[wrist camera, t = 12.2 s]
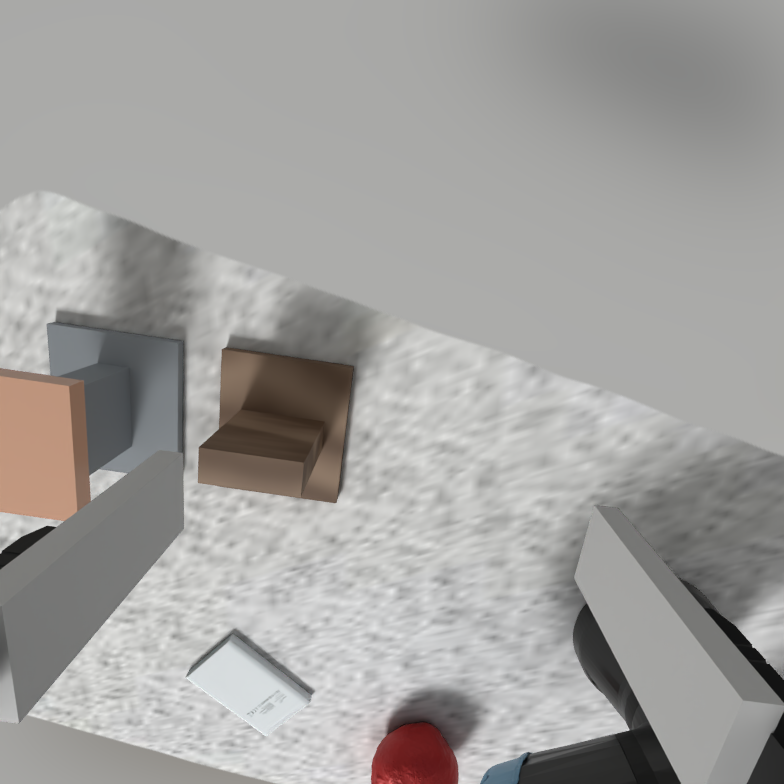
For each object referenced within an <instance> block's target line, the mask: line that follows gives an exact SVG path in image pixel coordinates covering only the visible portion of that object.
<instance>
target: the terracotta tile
mask: <svg viewBox="0 0 784 784" xmlns="http://www.w3.org/2000/svg"><path fill="white" fill-rule="evenodd" d="M89 502H91V499H90V481H89V463H88V445H87V428H86V410H85V392H84V380H77V379H70V378H63V377H57V376H50V375H43V374H36V373H29V372H22V371H15V370H9V369H2V368H0V512H5V513H12V514H19V515H26V516H33V517H40V518H47V519H54V520H61V521H65V520H67V519H68V518H69V517H71V516H72V515H73V514H75V513H76V512H77V511H79V510H80V509H81V508H83V507H84V506H85V505H87V504H88V503H89Z"/></svg>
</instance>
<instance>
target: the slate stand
mask: <svg viewBox="0 0 784 784" xmlns="http://www.w3.org/2000/svg"><path fill="white" fill-rule="evenodd" d="M47 334H48V347H49V359H50V372H51V376H57V377H63V378H70V379H77V380H84V392H85V410H86V428H87V445H88V463H89V475H91V474H92V473H94V472H95V471H97V470H98V469H102V470H109V471H116V472H123V473H129V472H131V471H132V470H133V469H135V468H136V467H137V466H139V465H140V464H141V463H143V462H144V461H145V460H147V459H148V458H149V457H151V456H152V455H153V454H155V453H156V452H157V451H159V450H163V451H171V452H179V453H182V441H183V341H180V340H173V339H166V338H159V337H152V336H146V335H139V334H132V333H125V332H118V331H112V330H105V329H98V328H91V327H84V326H78V325H71V324H64V323H57V322H53V323H48V324H47Z"/></svg>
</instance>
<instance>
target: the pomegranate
mask: <svg viewBox="0 0 784 784" xmlns="http://www.w3.org/2000/svg"><path fill="white" fill-rule="evenodd" d="M371 784H458V764H457V760H456V757H455V755H454V753H453V751H452V750H451V748H450V747H449V745H448V743H447V741H446V740H445V738H443V737H442V736H441V734H440V732H439V730H438V729H437V728H436V727H434V726H433V725H431V724H429V723H425V722H421V723H415V724H407V725H403V726H401V727H399V728H398V729H396V730H395V731H393V732H391V733H389V734H388V735H387V736H386V737H385V738H384V739H383V740H382V741H381V743H380V745H379V746H378V747H377V751H376V753H375V756H374V758H373V762H372V775H371Z"/></svg>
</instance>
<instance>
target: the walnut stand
mask: <svg viewBox="0 0 784 784" xmlns="http://www.w3.org/2000/svg"><path fill="white" fill-rule="evenodd" d="M353 368H354V366H350V365H343V364H336V363H329V362H322V361H316V360H309V359H302V358H295V357H288V356H282V355H275V354H268V353H261V352H254V351H248V350H241V349H234V348H227V347H226V348H224V349H222V362H221V390H220V419H219V430H218V431H216V432H215V433H214V434H213V435H212V436H211V437H210V438H209V439H208V440H207V441H205V442H204V443H203V444H202V445H201V446H200V447H199V462H198V483H202V484H209V485H216V486H220V487H227V488H234V489H241V490H248V491H255V492H262V493H269V494H276V495H283V496H289V497H296V498H303V499H310V500H317V501H324V502H331V503H336V502H337V499H338V491H339V483H340V475H341V467H342V459H343V450H344V442H345V434H346V426H347V418H348V409H349V401H350V393H351V385H352V376H353Z"/></svg>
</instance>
